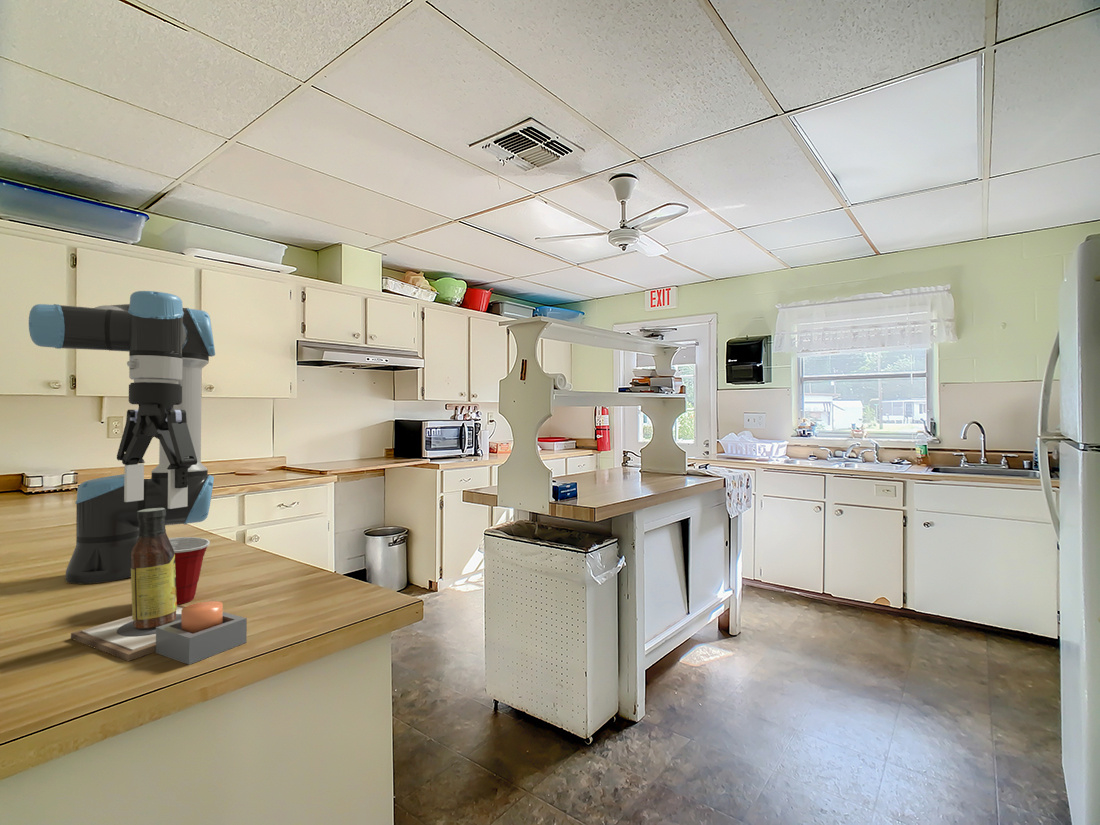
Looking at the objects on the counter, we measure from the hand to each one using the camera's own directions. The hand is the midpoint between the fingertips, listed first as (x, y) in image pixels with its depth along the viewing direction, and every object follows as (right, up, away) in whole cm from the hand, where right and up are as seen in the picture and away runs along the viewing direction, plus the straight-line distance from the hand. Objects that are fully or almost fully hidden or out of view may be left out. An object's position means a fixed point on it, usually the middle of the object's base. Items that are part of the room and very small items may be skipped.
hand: (155, 504), depth 94 cm
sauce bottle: (0, -21, 0) cm, 21 cm away
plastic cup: (-6, -22, +15) cm, 28 cm away
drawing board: (0, -22, 0) cm, 22 cm away
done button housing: (+13, -22, -7) cm, 26 cm away
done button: (+13, -19, -7) cm, 24 cm away
